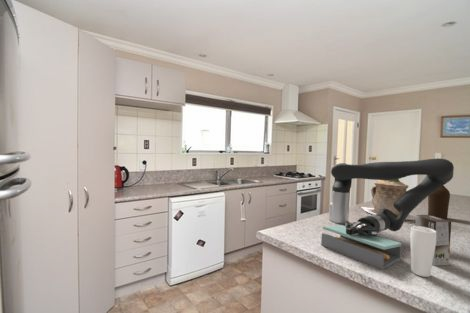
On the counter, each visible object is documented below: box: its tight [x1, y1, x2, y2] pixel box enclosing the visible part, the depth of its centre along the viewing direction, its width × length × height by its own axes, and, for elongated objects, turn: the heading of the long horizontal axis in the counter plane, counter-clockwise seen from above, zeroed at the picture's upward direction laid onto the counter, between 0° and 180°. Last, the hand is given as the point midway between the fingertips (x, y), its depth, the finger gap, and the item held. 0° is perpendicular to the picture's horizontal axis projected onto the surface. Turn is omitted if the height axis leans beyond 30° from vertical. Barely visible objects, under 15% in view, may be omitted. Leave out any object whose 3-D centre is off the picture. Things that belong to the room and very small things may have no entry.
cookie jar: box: [360, 179, 416, 222], centre depth 154 cm, size 25×25×32 cm
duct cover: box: [322, 224, 403, 250], centre depth 95 cm, size 24×14×1 cm, turn 34°
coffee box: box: [415, 214, 452, 266], centre depth 90 cm, size 9×6×16 cm
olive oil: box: [427, 184, 451, 220], centre depth 152 cm, size 11×11×25 cm
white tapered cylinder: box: [409, 225, 436, 278], centre depth 79 cm, size 7×7×15 cm
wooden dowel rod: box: [335, 236, 390, 260], centre depth 95 cm, size 21×2×2 cm, turn 34°
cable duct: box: [320, 232, 403, 271], centre depth 95 cm, size 24×15×5 cm, turn 34°
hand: (348, 231), depth 90 cm, fingers closed
